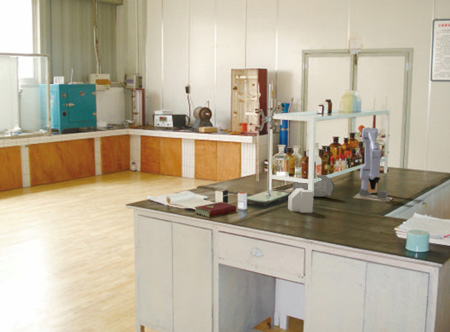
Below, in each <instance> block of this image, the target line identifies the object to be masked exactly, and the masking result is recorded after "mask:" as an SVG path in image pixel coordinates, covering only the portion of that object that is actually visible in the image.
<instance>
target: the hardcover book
mask: <svg viewBox="0 0 450 332" xmlns="http://www.w3.org/2000/svg"><path fill="white" fill-rule="evenodd" d="M194 208H195V214H197V213H198V215H200V214H201V216H204V215H205V216H204V217H208V218H211V217H216V216H221V215H228V214H230V213H236V212H237V209H238V208H237V205H235V204H232V203H228V202H224V201H220V202H214V203H208V204H204V205H197V206H194Z"/></svg>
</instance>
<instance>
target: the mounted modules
mask: <svg viewBox="0 0 450 332" xmlns="http://www.w3.org/2000/svg"><path fill="white" fill-rule="evenodd" d="M359 194H360V195H362V196H368V195H370V194H369V192H368V189H366V188H361V187H360V188H359ZM376 196H377V197H378V198H386V197H388V190H380V189H379V190H377V194H376Z"/></svg>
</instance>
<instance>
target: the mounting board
mask: <svg viewBox="0 0 450 332" xmlns="http://www.w3.org/2000/svg"><path fill="white" fill-rule="evenodd" d="M371 195H372V196H376V195H375V194H371ZM387 197H388V198H390V199H389V200H386V199H378V198H370V197H362V196H356V195H354V196H353V197H352V198H353V199H356V200H365V201H371V202H380V203H386V202H387V203H386V204H388V203H389V202H390V200H391V201H392V200H393V199H394V197H390V196H387Z"/></svg>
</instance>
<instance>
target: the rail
mask: <svg viewBox="0 0 450 332" xmlns="http://www.w3.org/2000/svg"><path fill="white" fill-rule="evenodd" d="M372 195H373V194H369V195H368V196H362V195H360V193H357V194H356V195H355V196H362V197H370V198H378V197H377V195H375V196H372ZM388 197H389V196H387V197H386V198H378V199H386V200H389V199H390V198H388Z"/></svg>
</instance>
